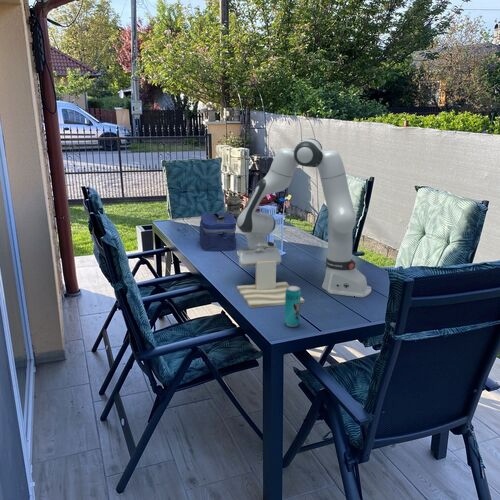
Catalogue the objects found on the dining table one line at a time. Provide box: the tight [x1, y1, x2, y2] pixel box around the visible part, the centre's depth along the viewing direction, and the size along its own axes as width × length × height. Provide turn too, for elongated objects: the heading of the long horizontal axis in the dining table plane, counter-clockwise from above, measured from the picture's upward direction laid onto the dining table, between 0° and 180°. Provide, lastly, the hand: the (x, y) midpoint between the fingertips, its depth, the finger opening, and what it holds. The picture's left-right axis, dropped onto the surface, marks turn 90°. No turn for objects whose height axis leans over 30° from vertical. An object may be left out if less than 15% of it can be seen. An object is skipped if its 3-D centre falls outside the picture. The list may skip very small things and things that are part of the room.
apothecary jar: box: [224, 195, 242, 223], centre depth 362 cm, size 12×12×18 cm
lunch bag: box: [199, 212, 237, 252], centre depth 293 cm, size 31×21×20 cm
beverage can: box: [284, 285, 302, 328], centre depth 186 cm, size 6×6×15 cm
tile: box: [254, 260, 277, 290], centre depth 221 cm, size 9×2×13 cm, turn 105°
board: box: [236, 281, 305, 309], centre depth 217 cm, size 24×24×1 cm
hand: (262, 273), depth 225 cm, fingers closed
